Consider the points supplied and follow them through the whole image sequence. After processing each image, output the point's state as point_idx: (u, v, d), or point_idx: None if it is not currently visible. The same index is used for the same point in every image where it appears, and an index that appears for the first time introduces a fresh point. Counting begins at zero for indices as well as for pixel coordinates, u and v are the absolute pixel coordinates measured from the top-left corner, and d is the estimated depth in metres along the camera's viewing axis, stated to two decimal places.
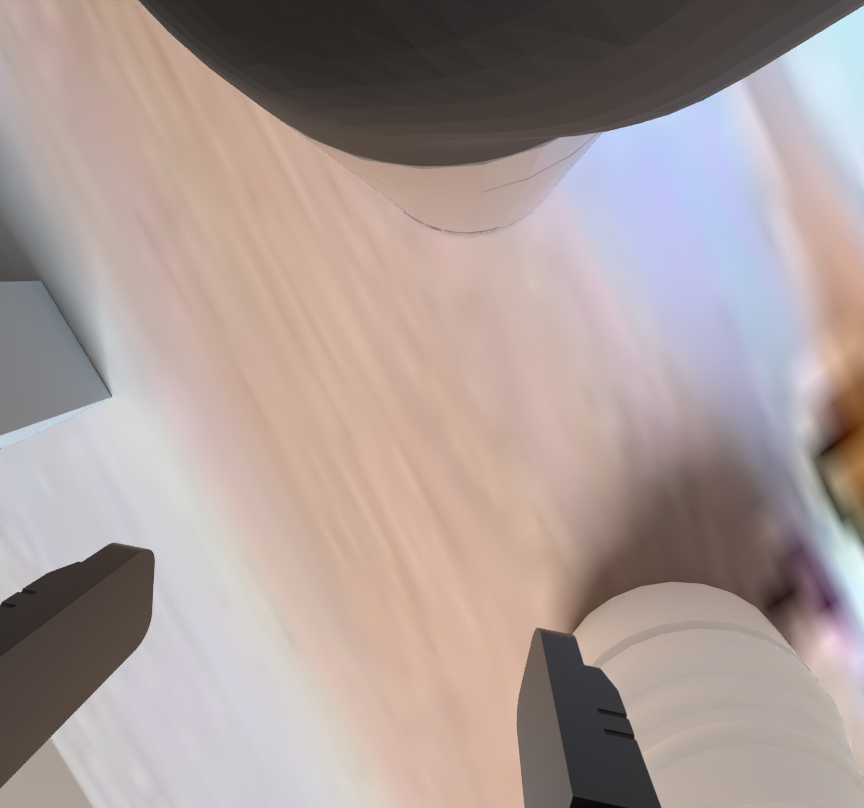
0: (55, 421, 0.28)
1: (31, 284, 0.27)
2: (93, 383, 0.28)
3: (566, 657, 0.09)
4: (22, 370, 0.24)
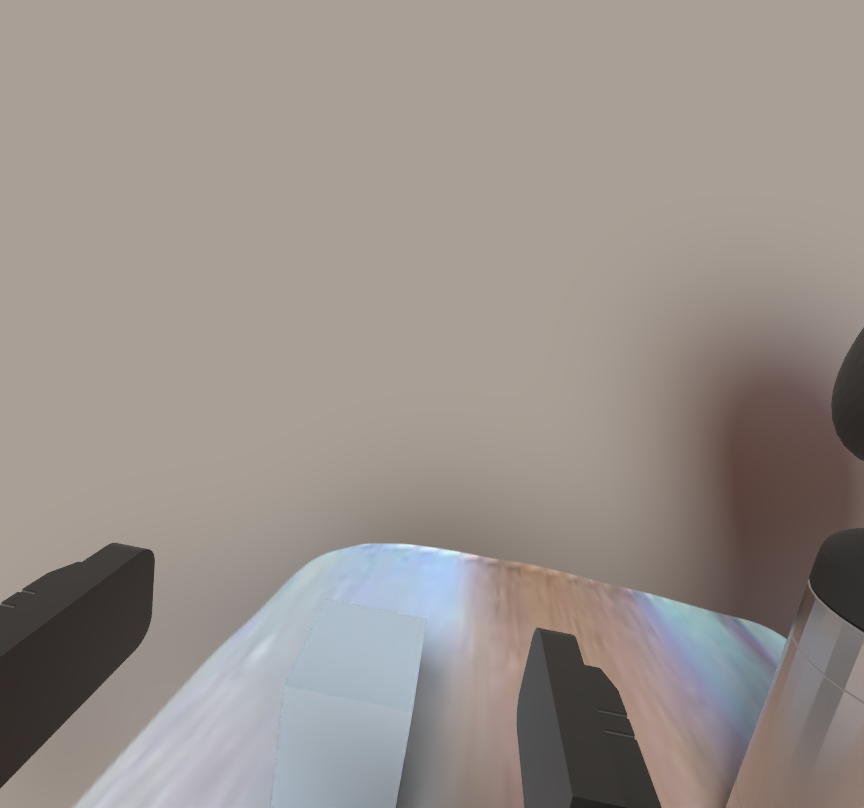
0: None
1: None
2: None
3: (566, 657, 0.09)
4: None
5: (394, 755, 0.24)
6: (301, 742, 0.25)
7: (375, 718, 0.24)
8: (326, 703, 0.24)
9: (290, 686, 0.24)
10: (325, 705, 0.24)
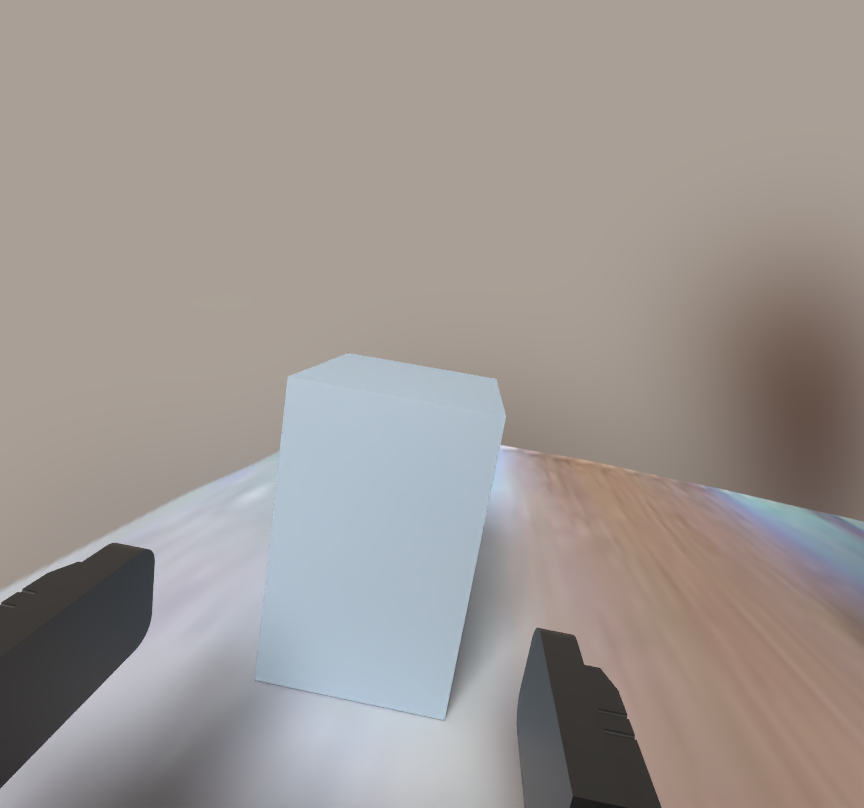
0: (374, 661, 0.16)
1: None
2: None
3: (566, 657, 0.09)
4: None
5: (471, 501, 0.15)
6: (315, 483, 0.15)
7: (441, 432, 0.14)
8: (359, 406, 0.14)
9: (298, 380, 0.14)
10: (358, 410, 0.14)
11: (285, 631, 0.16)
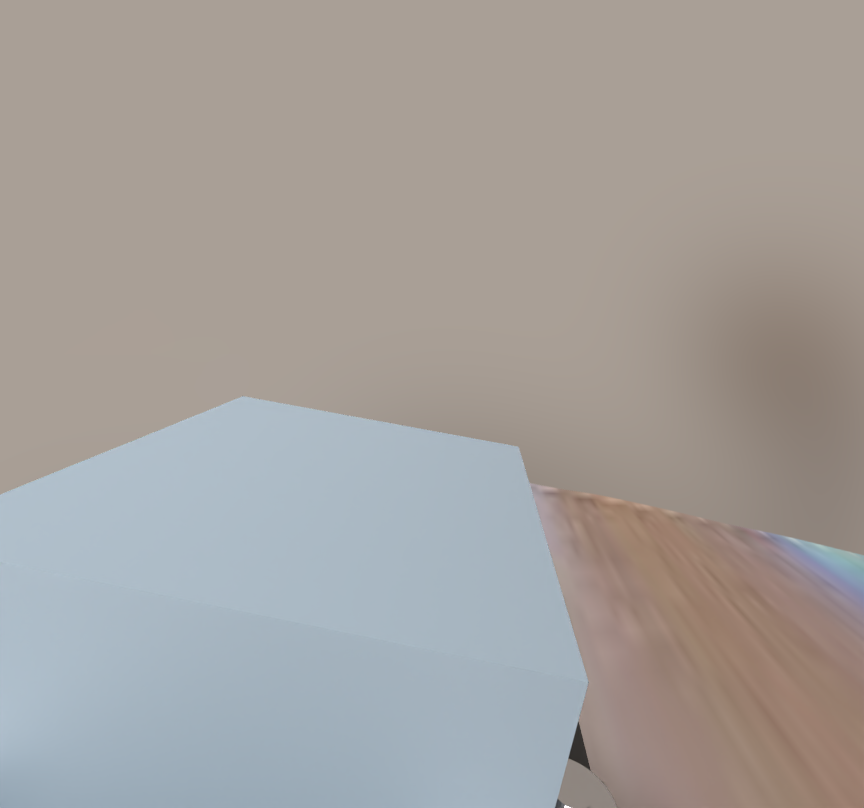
0: None
1: None
2: None
3: None
4: None
5: None
6: None
7: (378, 715, 0.04)
8: (118, 634, 0.04)
9: None
10: (113, 645, 0.05)
11: None
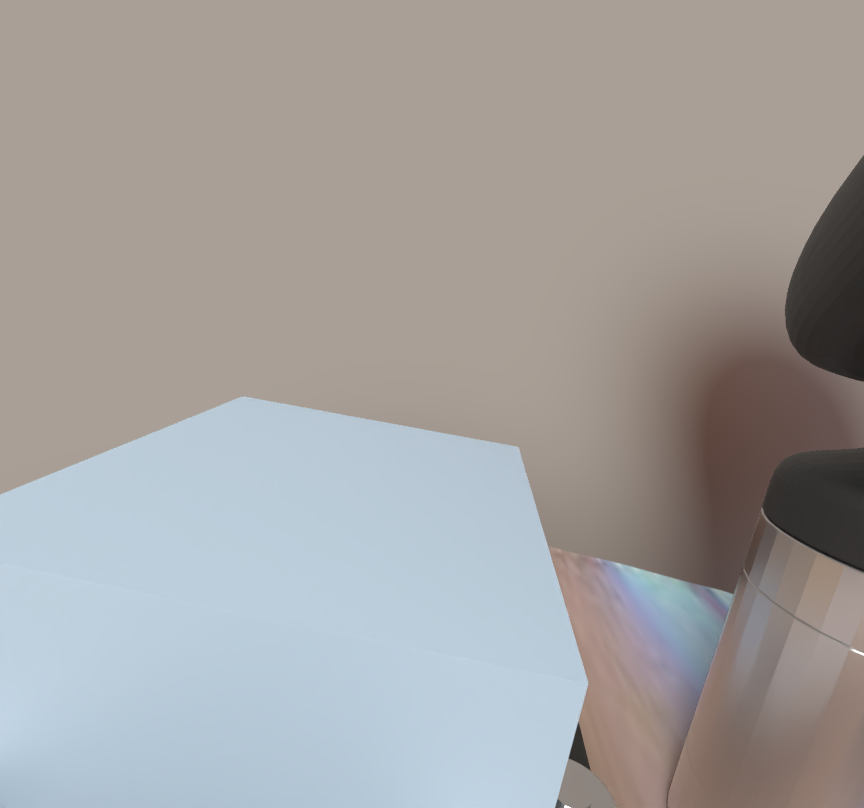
0: None
1: None
2: None
3: None
4: None
5: None
6: None
7: (378, 716, 0.04)
8: (117, 634, 0.04)
9: None
10: (113, 647, 0.05)
11: None
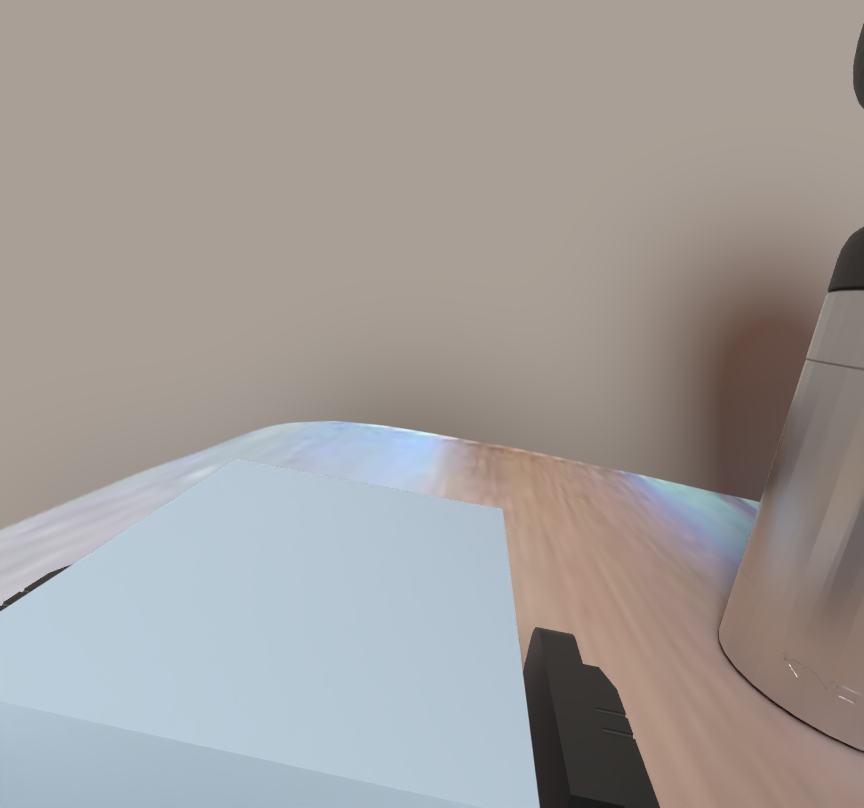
0: None
1: None
2: None
3: (565, 656, 0.09)
4: None
5: None
6: None
7: None
8: (108, 767, 0.05)
9: None
10: (104, 775, 0.05)
11: None
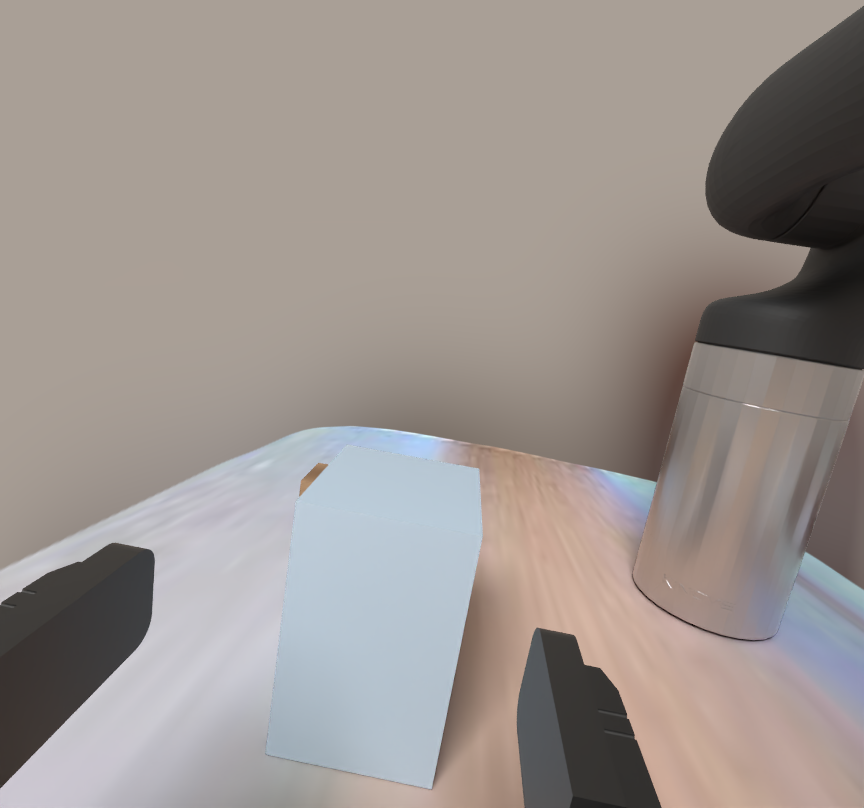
0: (370, 739, 0.18)
1: None
2: None
3: (566, 657, 0.09)
4: None
5: (453, 605, 0.17)
6: (319, 589, 0.17)
7: (428, 548, 0.17)
8: (357, 526, 0.17)
9: (305, 503, 0.17)
10: (356, 529, 0.17)
11: (292, 713, 0.18)
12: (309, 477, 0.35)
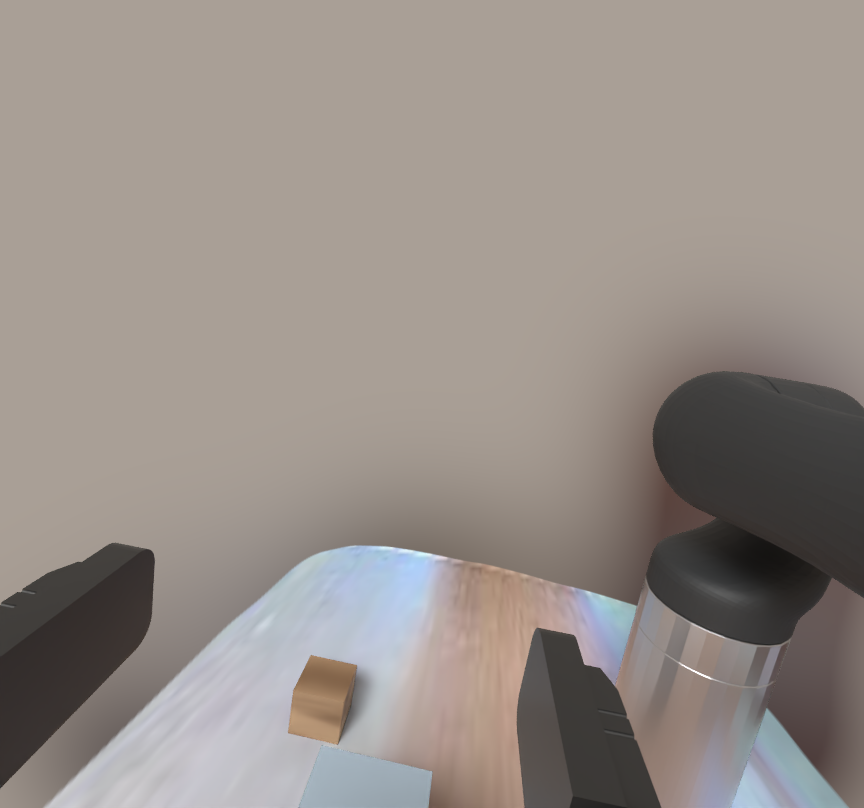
0: None
1: None
2: None
3: (566, 657, 0.09)
4: None
5: None
6: None
7: None
8: None
9: None
10: None
11: None
12: (301, 683, 0.40)
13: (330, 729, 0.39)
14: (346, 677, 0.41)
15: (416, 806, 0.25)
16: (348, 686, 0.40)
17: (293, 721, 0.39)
